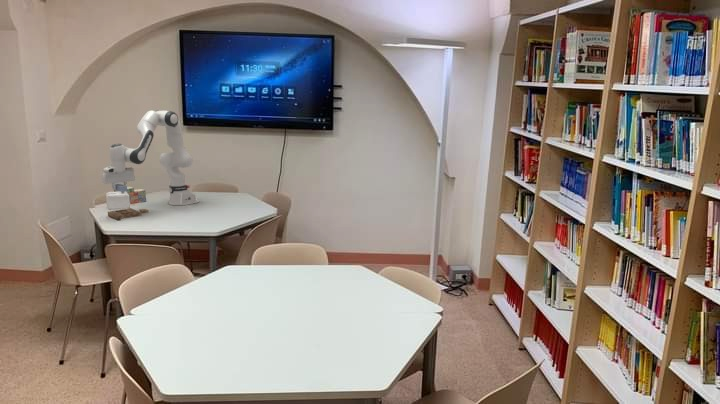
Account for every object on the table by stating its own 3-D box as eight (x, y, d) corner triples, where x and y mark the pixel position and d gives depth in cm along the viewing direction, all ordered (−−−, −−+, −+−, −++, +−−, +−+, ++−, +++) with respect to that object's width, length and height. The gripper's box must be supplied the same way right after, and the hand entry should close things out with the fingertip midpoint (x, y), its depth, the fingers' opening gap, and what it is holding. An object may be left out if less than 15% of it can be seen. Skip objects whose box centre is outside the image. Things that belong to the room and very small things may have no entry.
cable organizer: (129, 206, 377) (128, 190, 375) (130, 209, 368) (128, 193, 366) (107, 207, 371) (105, 192, 369) (107, 211, 362) (105, 195, 359)
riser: (145, 212, 361) (145, 208, 361) (148, 213, 358) (148, 209, 358) (139, 213, 358) (139, 209, 358) (142, 214, 355) (142, 210, 355)
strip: (118, 190, 350) (118, 182, 348) (127, 193, 340) (126, 185, 339) (112, 191, 347) (112, 183, 346) (121, 194, 337) (120, 186, 336)
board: (131, 212, 360) (131, 208, 359) (141, 216, 349) (141, 212, 348) (108, 215, 348) (107, 211, 348) (117, 220, 338) (117, 216, 337)
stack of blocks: (142, 200, 397) (141, 185, 395) (146, 201, 393) (145, 186, 391) (114, 204, 381) (113, 188, 378) (119, 206, 377) (117, 189, 374)
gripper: (131, 166, 350) (133, 186, 353) (100, 169, 335) (102, 189, 338) (135, 167, 345) (137, 187, 348) (104, 170, 331) (106, 191, 334)
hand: (119, 188), depth 343 cm, fingers closed on strip, 4 cm apart
